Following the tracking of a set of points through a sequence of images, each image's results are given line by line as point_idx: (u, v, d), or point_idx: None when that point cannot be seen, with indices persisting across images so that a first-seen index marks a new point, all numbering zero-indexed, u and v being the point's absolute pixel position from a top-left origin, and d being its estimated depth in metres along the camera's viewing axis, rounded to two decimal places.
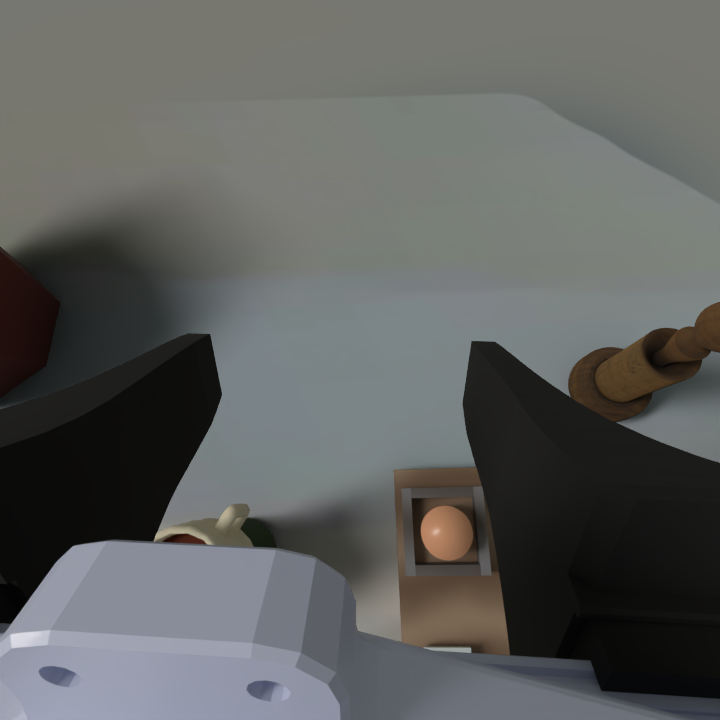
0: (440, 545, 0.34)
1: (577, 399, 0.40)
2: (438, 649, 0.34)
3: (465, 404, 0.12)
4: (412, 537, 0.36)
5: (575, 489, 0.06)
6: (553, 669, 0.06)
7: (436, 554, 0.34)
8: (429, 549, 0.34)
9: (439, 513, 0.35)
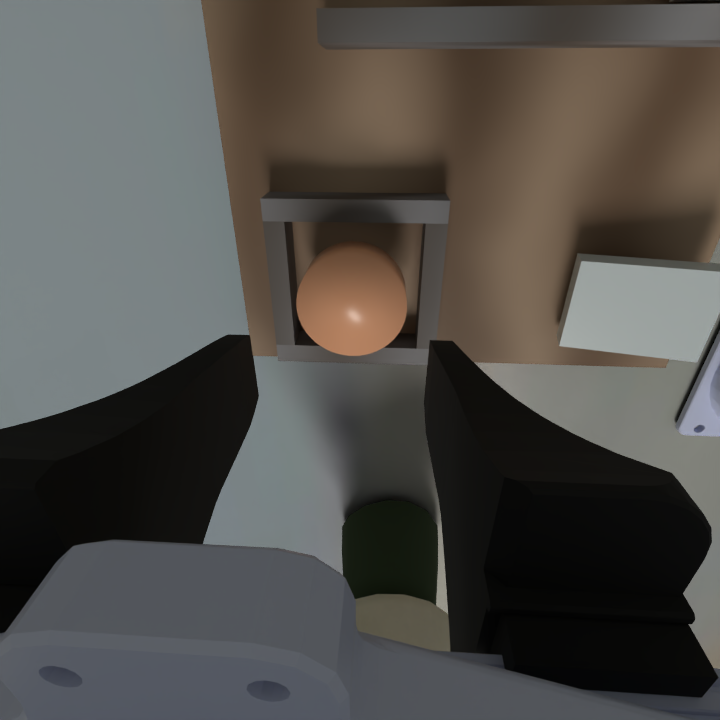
0: (376, 322, 0.16)
1: None
2: (569, 321, 0.18)
3: (425, 402, 0.12)
4: None
5: (489, 485, 0.06)
6: None
7: (394, 332, 0.16)
8: (383, 343, 0.16)
9: (312, 318, 0.16)
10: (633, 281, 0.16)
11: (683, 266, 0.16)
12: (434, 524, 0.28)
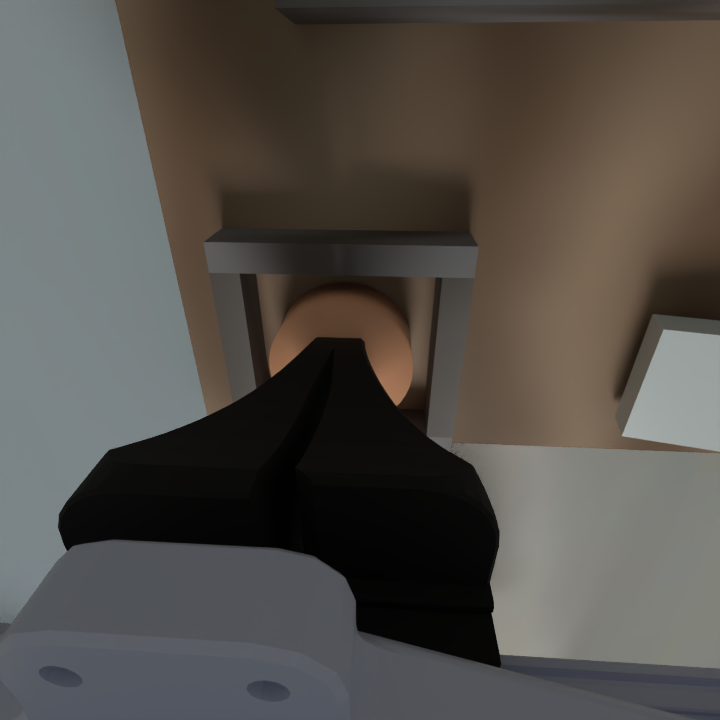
0: None
1: None
2: (638, 406, 0.13)
3: None
4: None
5: None
6: None
7: (396, 399, 0.13)
8: None
9: None
10: None
11: None
12: None
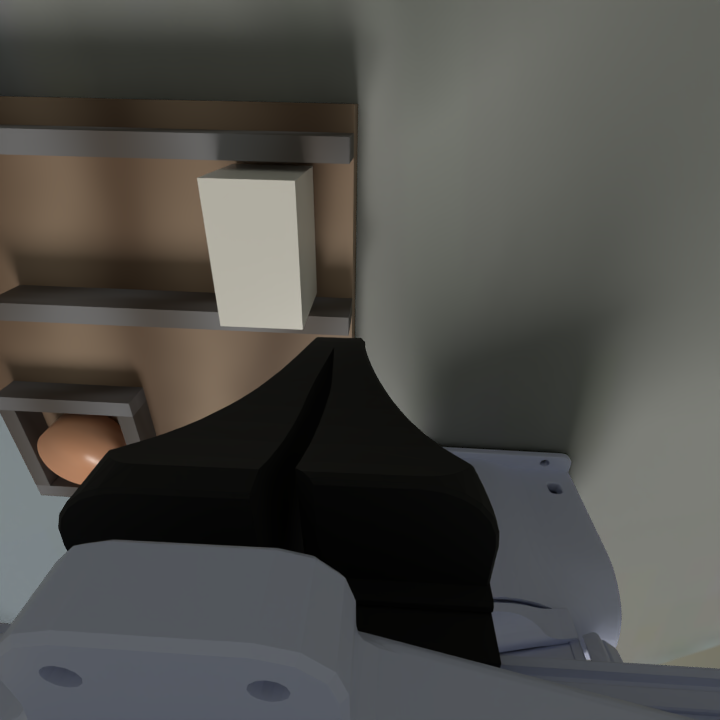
0: None
1: None
2: None
3: None
4: None
5: None
6: None
7: None
8: None
9: (53, 463, 0.23)
10: None
11: None
12: None
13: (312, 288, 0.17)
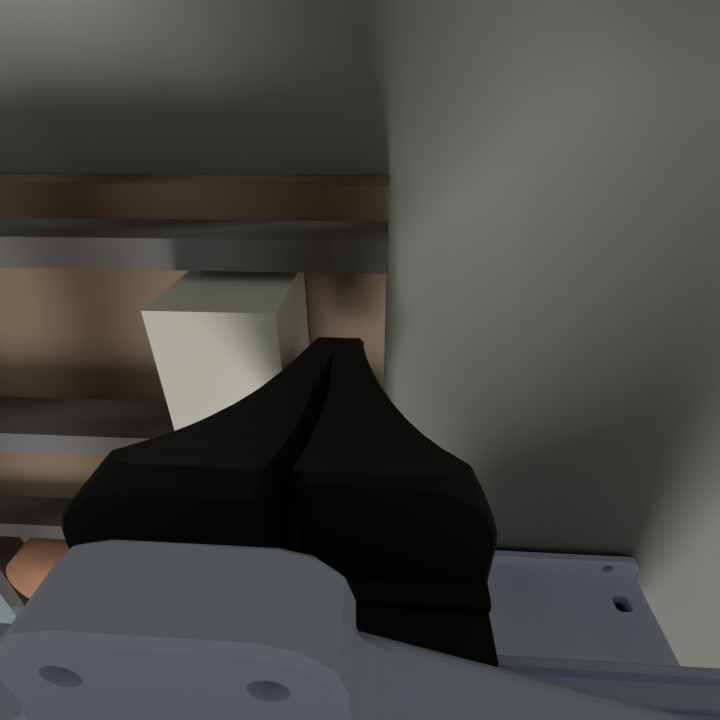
0: None
1: None
2: None
3: None
4: None
5: None
6: None
7: None
8: None
9: (26, 588, 0.19)
10: None
11: None
12: None
13: None
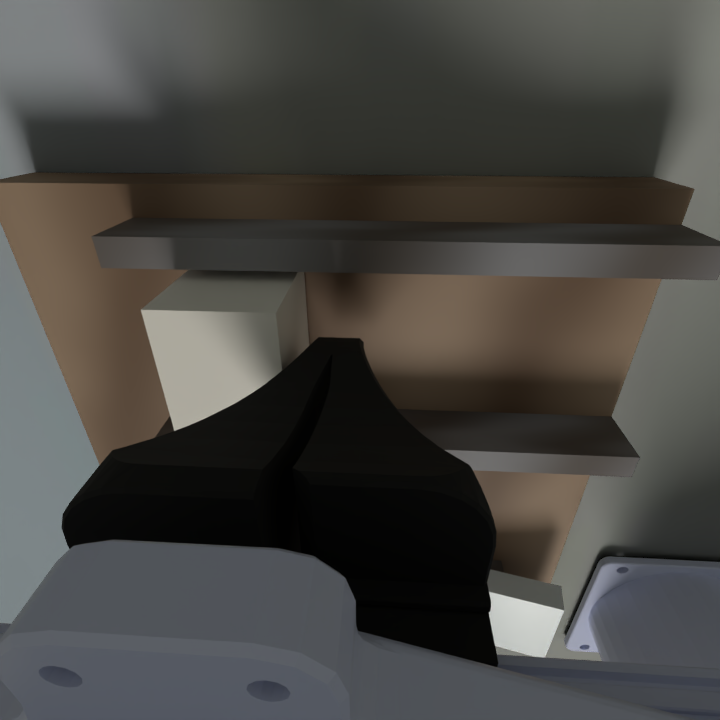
0: None
1: None
2: None
3: None
4: None
5: None
6: None
7: None
8: None
9: None
10: None
11: (521, 590, 0.17)
12: None
13: None
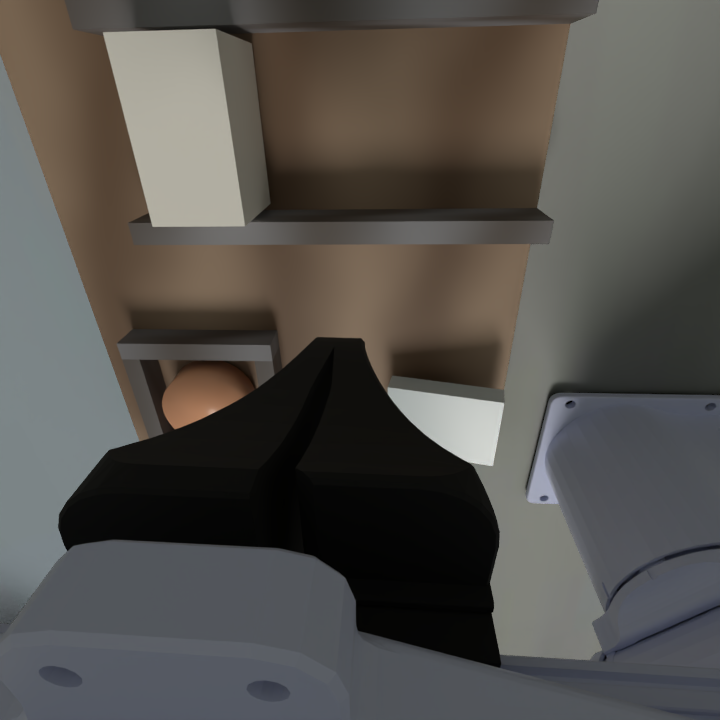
0: None
1: None
2: None
3: None
4: None
5: None
6: None
7: None
8: None
9: (177, 419, 0.21)
10: (429, 404, 0.19)
11: (467, 393, 0.19)
12: None
13: (261, 191, 0.16)
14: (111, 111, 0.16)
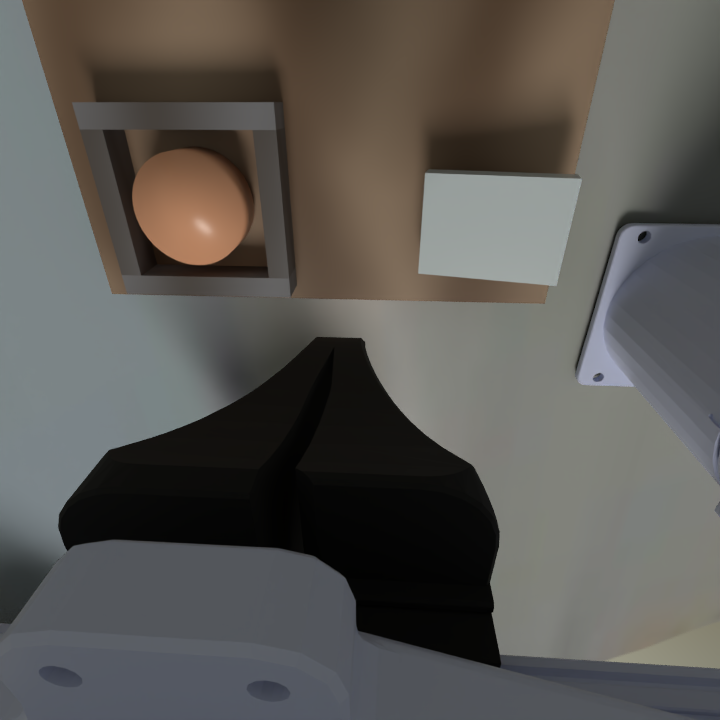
0: (215, 227, 0.16)
1: None
2: (423, 244, 0.16)
3: None
4: (217, 279, 0.18)
5: None
6: None
7: (235, 238, 0.16)
8: (226, 251, 0.17)
9: (152, 224, 0.16)
10: (480, 194, 0.15)
11: (530, 176, 0.15)
12: None
13: None
14: None
